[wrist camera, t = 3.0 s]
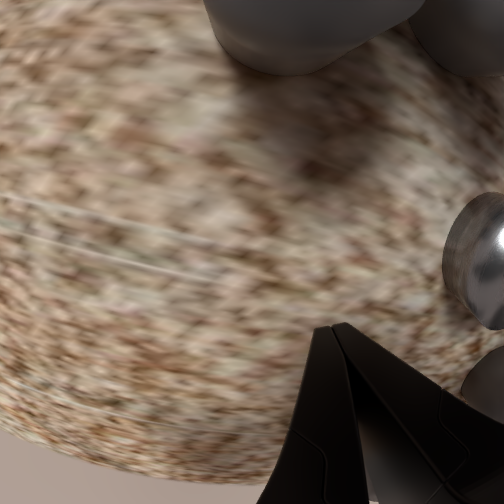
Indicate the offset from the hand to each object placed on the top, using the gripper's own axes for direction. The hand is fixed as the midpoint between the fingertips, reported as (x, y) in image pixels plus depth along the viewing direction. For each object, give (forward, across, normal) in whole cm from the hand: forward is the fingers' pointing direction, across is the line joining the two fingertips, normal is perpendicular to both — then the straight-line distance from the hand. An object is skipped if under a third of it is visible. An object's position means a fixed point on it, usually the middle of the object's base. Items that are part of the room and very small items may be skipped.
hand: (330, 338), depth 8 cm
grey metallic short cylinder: (+3, -7, 0) cm, 8 cm away
